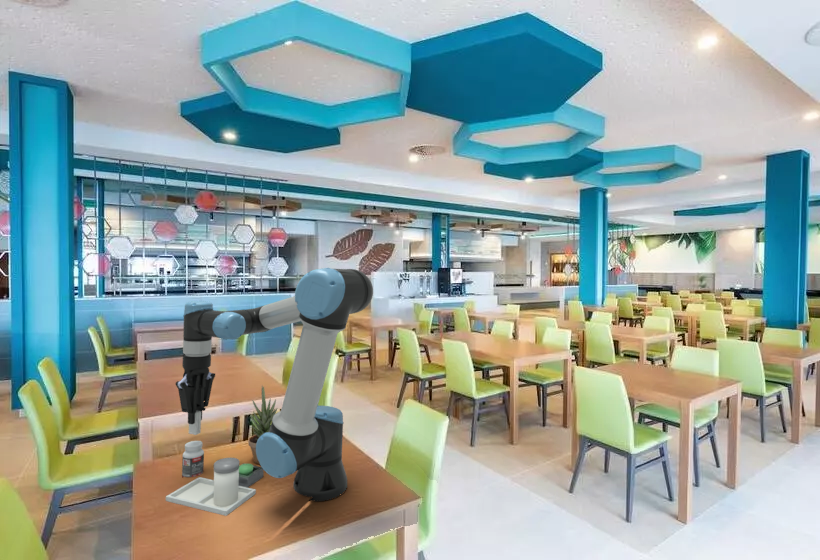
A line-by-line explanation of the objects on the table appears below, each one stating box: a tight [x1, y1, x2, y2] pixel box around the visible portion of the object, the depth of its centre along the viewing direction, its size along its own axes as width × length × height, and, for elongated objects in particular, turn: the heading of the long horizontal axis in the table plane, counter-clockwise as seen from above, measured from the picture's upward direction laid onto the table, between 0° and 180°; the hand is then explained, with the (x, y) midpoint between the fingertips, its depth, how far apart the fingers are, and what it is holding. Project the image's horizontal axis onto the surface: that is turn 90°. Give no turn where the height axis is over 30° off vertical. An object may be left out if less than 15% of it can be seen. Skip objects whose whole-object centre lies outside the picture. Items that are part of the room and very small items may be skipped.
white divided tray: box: [165, 476, 257, 517], centre depth 116 cm, size 20×13×2 cm, turn 72°
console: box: [239, 464, 265, 488], centre depth 126 cm, size 7×7×4 cm
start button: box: [239, 463, 254, 476], centre depth 126 cm, size 4×4×2 cm
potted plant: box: [247, 385, 278, 465], centre depth 142 cm, size 10×10×25 cm
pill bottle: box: [181, 440, 205, 478], centre depth 129 cm, size 6×6×10 cm
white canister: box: [213, 457, 240, 507], centre depth 115 cm, size 6×6×10 cm
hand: (194, 433), depth 129 cm, fingers closed
